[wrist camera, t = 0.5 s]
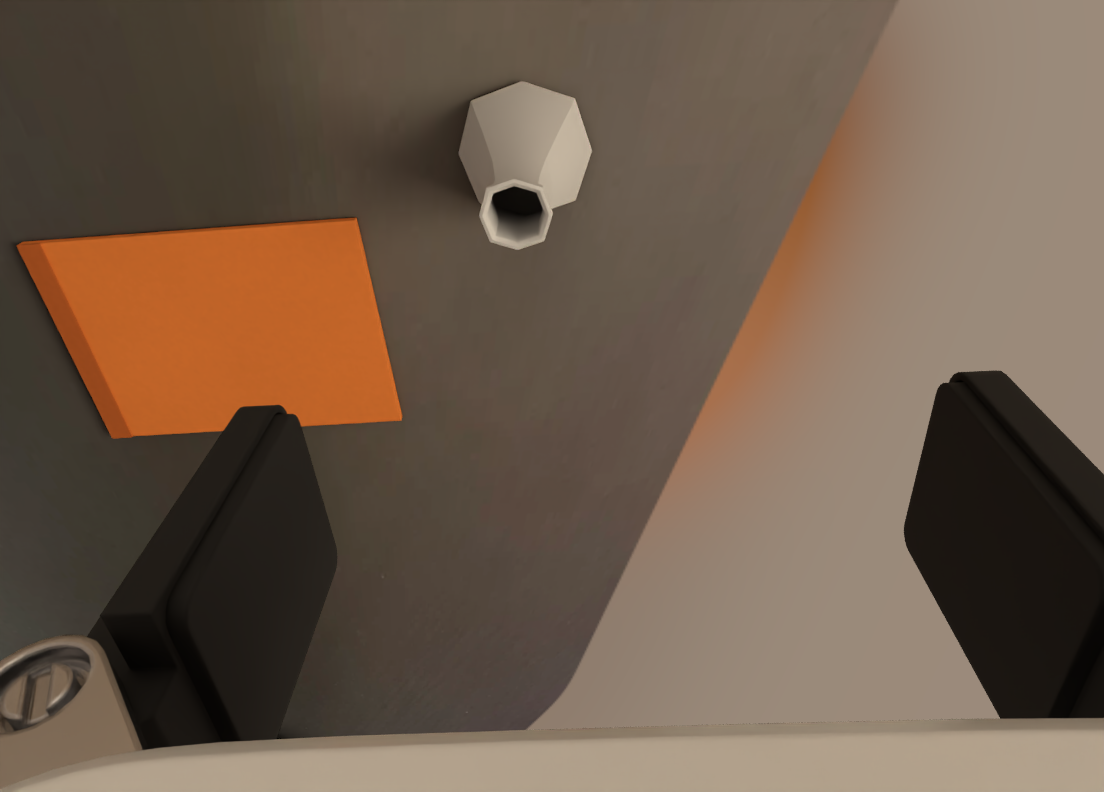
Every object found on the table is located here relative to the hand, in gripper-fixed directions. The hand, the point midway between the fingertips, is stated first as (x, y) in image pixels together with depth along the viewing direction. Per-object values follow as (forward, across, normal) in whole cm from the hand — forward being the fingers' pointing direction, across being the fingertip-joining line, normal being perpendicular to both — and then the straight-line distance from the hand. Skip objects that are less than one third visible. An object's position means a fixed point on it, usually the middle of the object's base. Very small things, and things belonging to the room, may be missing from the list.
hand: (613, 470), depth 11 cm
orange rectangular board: (+33, +23, +14) cm, 43 cm away
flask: (+33, +3, +3) cm, 33 cm away
